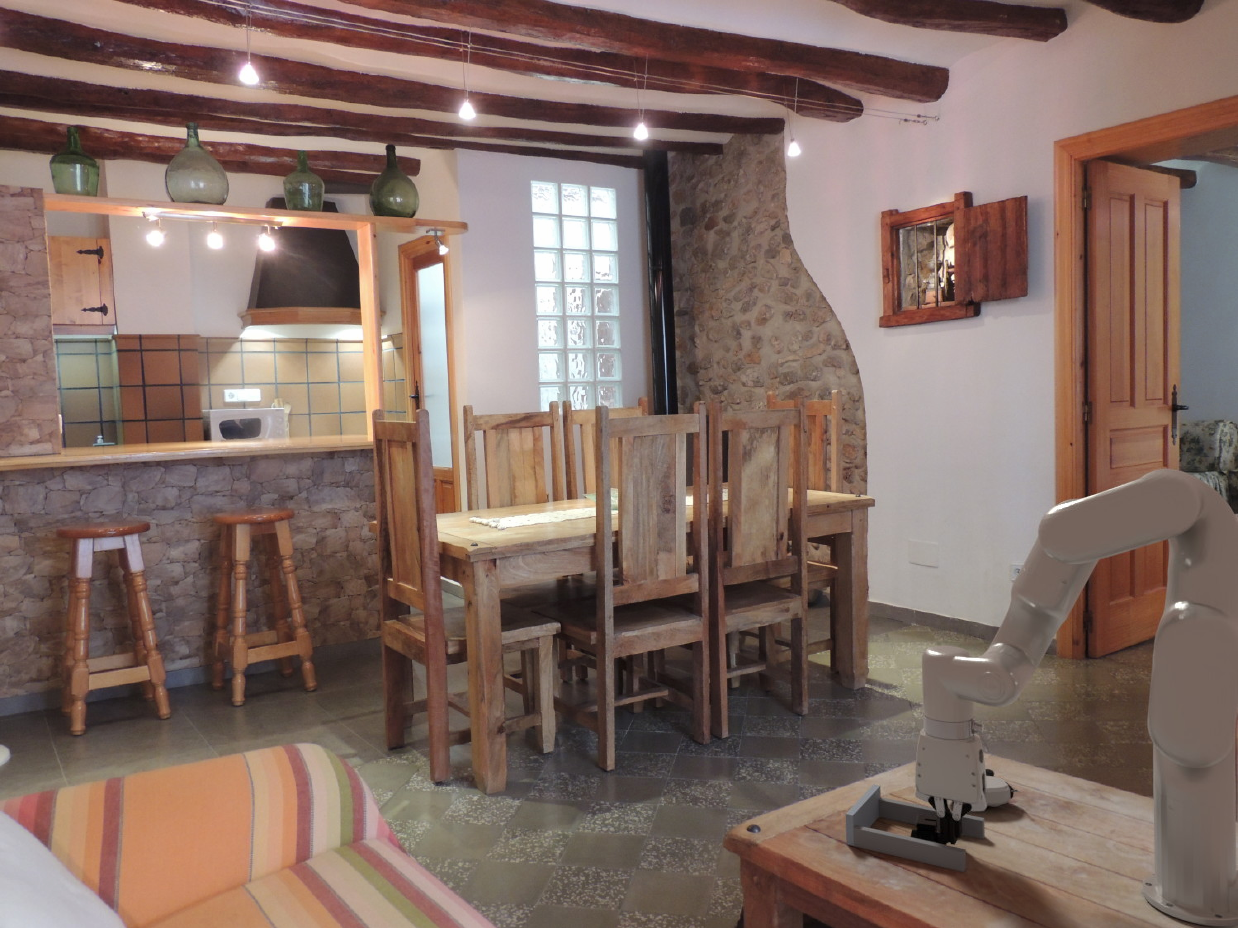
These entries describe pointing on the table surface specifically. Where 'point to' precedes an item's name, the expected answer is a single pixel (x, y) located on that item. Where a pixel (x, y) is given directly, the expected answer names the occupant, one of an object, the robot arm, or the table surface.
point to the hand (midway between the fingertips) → (951, 840)
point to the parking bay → (901, 845)
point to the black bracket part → (927, 829)
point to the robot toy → (997, 790)
